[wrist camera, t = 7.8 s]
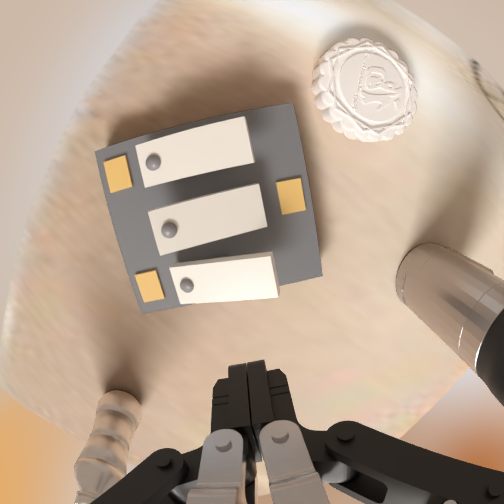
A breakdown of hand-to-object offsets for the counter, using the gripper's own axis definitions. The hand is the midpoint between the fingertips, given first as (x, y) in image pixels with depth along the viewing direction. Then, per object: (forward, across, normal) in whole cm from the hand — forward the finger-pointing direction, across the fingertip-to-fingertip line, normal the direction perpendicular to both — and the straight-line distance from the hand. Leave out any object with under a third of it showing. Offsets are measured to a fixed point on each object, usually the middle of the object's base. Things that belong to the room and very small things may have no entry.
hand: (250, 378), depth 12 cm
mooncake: (+23, -17, -14) cm, 32 cm away
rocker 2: (+17, +2, +2) cm, 18 cm away
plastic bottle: (+23, +22, +20) cm, 38 cm away
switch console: (+23, +2, -4) cm, 23 cm away
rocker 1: (+17, +2, -10) cm, 20 cm away
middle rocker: (+17, +2, -4) cm, 18 cm away
